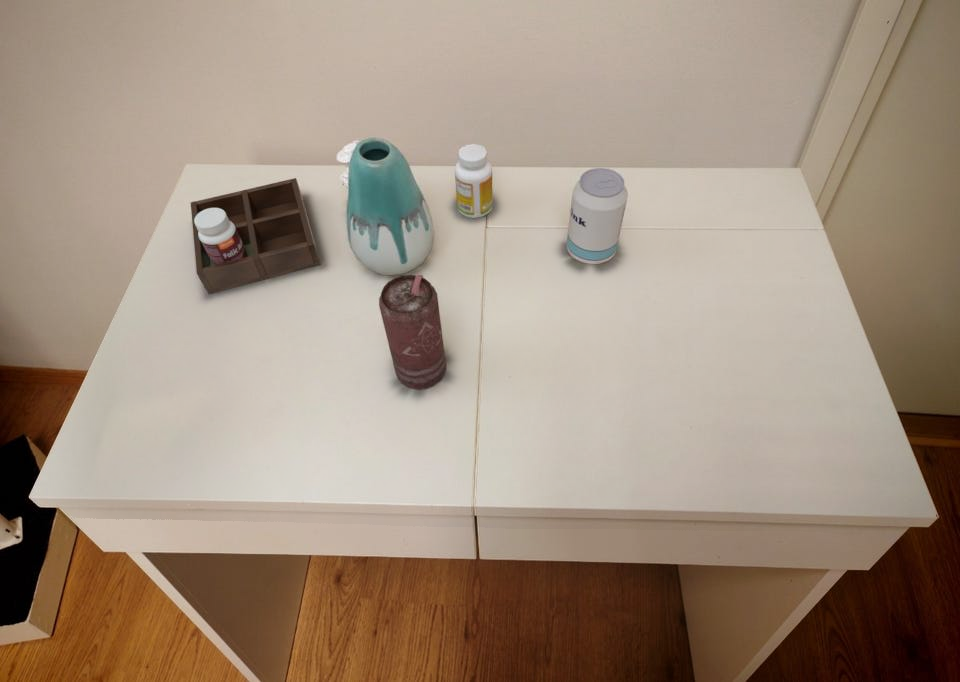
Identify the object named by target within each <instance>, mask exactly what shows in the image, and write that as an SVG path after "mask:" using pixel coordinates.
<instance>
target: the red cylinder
mask: <svg viewBox="0 0 960 682" xmlns="http://www.w3.org/2000/svg"><path fill="white" fill-rule="evenodd" d="M378 308H379V311H380V315H381V320H382V323H383V327H384V331H385V334H386V336H385V337H386V340H387V344H388V347H389V351H390V356H391V359H392V365H393V368H394V372H395V375H396V377H397V380H398V381H399V382H400V383H401V384H402V385H403V386H405V387H407V388H410V389H413V390H427V389H429V388H432V387H434V386H435V385H437V384H438V383H439V382H441V380H442V379H443V378H444V376H445V374H446V372H447V371H446V370H447V361H446V354H445V346H444V338H443V330H442V320H441V313H440V306H439V298H438V292H437V291H436V289H435V287H434V285H432V283H431V282H430V281H429V280H428V279H426V278H425V277H424V275H423V274H417V275H416V274H401V275H398V276H395V277H394V278H392V279H390V280H389V281H388V282H387V283H386V284H385V285H384V286H383V287H382V290H381V292H380V296H379V298H378Z"/></svg>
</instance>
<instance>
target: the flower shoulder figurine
mask: <svg viewBox="0 0 960 682" xmlns="http://www.w3.org/2000/svg"><path fill="white" fill-rule="evenodd" d="M360 141H361V140H353V141H352V142H349V143H348V144H346V145H344V146H343V148H342V149H340V150H339V152H338V153H336V160H337V162H338V163H342V164H345V170H344V171H343V173H342V174H341V175H340V177H339V180H340V182H342V186H345V187H346V189H348V169H349V162H350V158H351V155H352V153H353V151H354V149H355V147H356V145H357V144H358V143H359V142H360Z"/></svg>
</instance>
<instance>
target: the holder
mask: <svg viewBox="0 0 960 682" xmlns="http://www.w3.org/2000/svg"><path fill="white" fill-rule="evenodd" d="M208 208H220V209H222V210H224V211H225V213H226V215H227V217H228V219H229V221H231V222H232V223H233V224H234V225H235V227H236V229H237V232H238V234H239V236H240V238H241V240H242V243H243V245H244V247H245V249H246V251H247V254H248V256H249V257H245V258H241V259H237V260H233V261H229V262H225V263H222V264H218V265H213V263H212V261H211V259H210V258H209V256H208V254H207V252H206V250H205V248H204V246H203V244H202V243H201V241H200V239H199V236H198V232H199V231H198V229H197V227H196V225H195V223H194V219H195V217H196V215H197V214H198V213H200V212H201V211H203V210H205V209H208ZM190 211H191V212H190V213H191V226H192V235H193V248H194V259H195V269H196V275H197V276H198V277H197V278H199V280H200V282H201V283H202V285H203V287H204V289H205V291H206V292H207V294H208V295H211V294H214V293H218V292H222V291H226V290H230V289H234V288H237V287H241V286H245V285H248V284H253V283H256V282H261V281H265V280H268V279H272V278H275V277H279V276H283V275H286V274H291V273H295V272H299V271H302V270H306V269H310V268H313V267H317V266H318V267H319V266H321V260H320V257H319V252H318V249H317V245H316V242H315V238H314V235H313V230H312V227H311V223H310V220H309V217H308V213H307V209H306V204H305V201H304V197H303V194H302V191H301V188H300V186H299V183H298V180H297V178H296V177H295V178H290V179H285V180H281V181H277V182H272V183H269V184H264V185H260V186H255V187H250V188H247V189H242V190H239V191H234V192H230V193H225V194H221V195H217V196H213V197H208V198H204V199H200V200H199V199H198V200H194V201H191V202H190Z"/></svg>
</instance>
